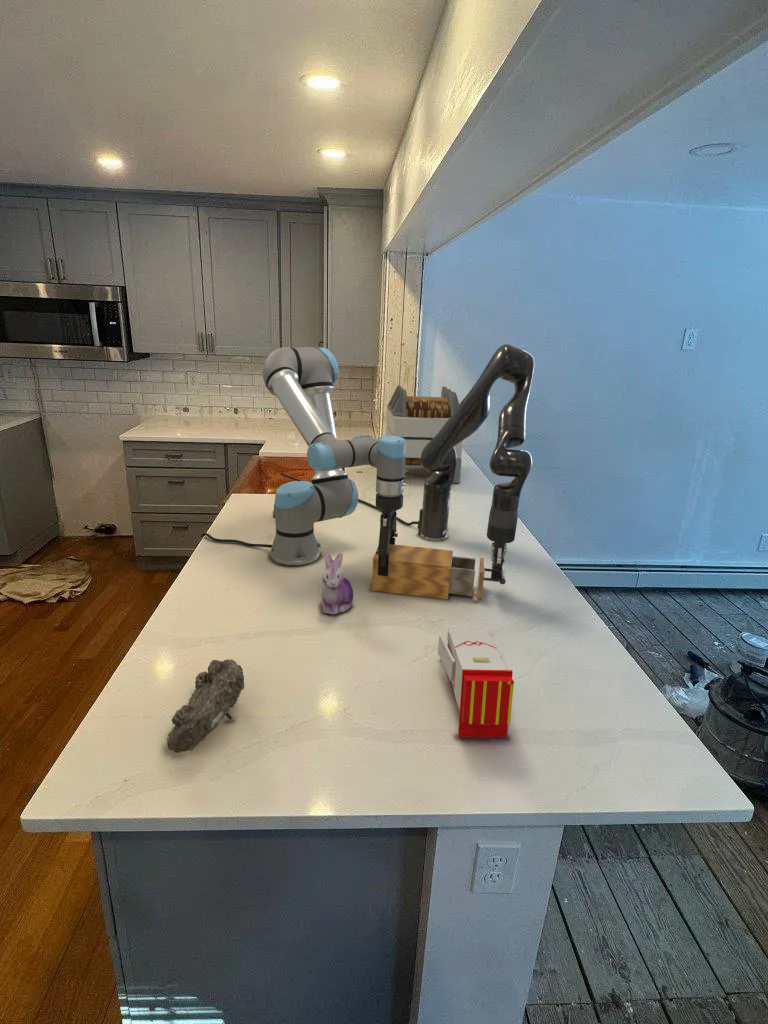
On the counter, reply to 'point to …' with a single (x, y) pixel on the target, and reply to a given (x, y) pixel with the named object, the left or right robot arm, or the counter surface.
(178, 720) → the fossil
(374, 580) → the cabinet
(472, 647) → the toy
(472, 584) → the drawer
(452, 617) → the counter surface
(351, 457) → the left robot arm
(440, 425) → the transformer
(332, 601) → the figurine
